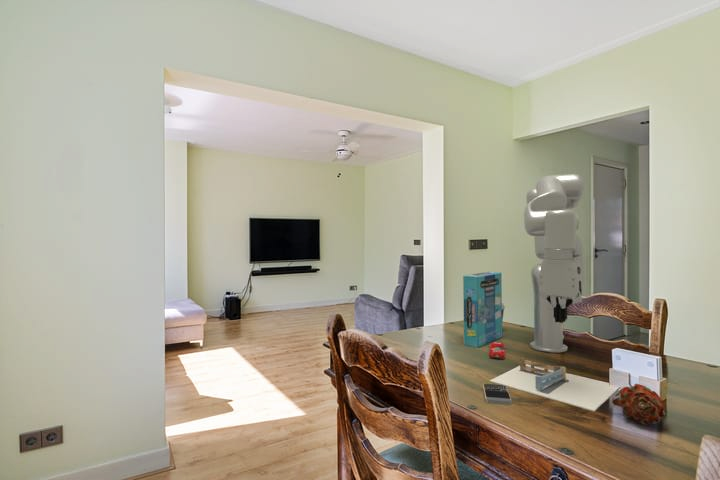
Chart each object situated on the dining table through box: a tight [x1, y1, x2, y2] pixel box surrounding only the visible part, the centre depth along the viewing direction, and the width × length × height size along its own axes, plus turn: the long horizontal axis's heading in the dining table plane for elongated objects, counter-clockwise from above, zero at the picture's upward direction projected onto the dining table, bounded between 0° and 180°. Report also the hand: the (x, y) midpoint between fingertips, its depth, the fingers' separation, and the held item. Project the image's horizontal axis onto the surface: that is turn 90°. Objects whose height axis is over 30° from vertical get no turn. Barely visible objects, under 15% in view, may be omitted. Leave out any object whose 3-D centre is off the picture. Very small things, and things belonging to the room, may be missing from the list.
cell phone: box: [482, 383, 512, 406], centre depth 102 cm, size 6×11×1 cm, turn 167°
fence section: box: [519, 357, 561, 376], centre depth 116 cm, size 11×1×4 cm, turn 42°
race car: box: [488, 341, 507, 360], centre depth 138 cm, size 13×5×4 cm, turn 158°
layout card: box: [489, 364, 618, 413], centre depth 109 cm, size 22×27×1 cm
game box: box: [462, 271, 503, 349], centre depth 155 cm, size 20×6×27 cm, turn 135°
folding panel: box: [535, 365, 567, 390], centre depth 108 cm, size 14×1×3 cm, turn 124°
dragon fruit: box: [611, 383, 667, 426], centre depth 88 cm, size 8×8×12 cm
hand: (560, 321), depth 107 cm, fingers closed
